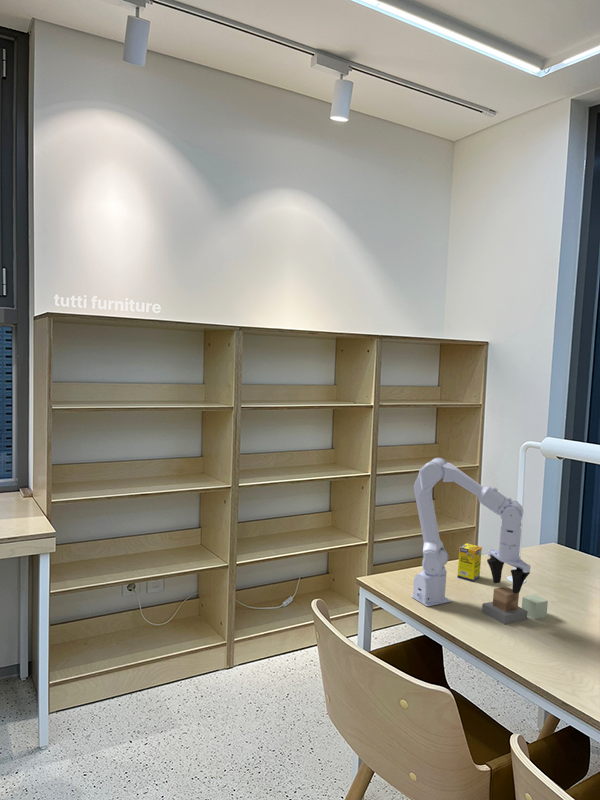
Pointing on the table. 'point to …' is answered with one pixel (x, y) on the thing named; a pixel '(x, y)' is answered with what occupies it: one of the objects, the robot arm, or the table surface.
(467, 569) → the supplement box
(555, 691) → the table surface
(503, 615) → the charcoal base block
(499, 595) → the walnut cube
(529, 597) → the sage green cube
